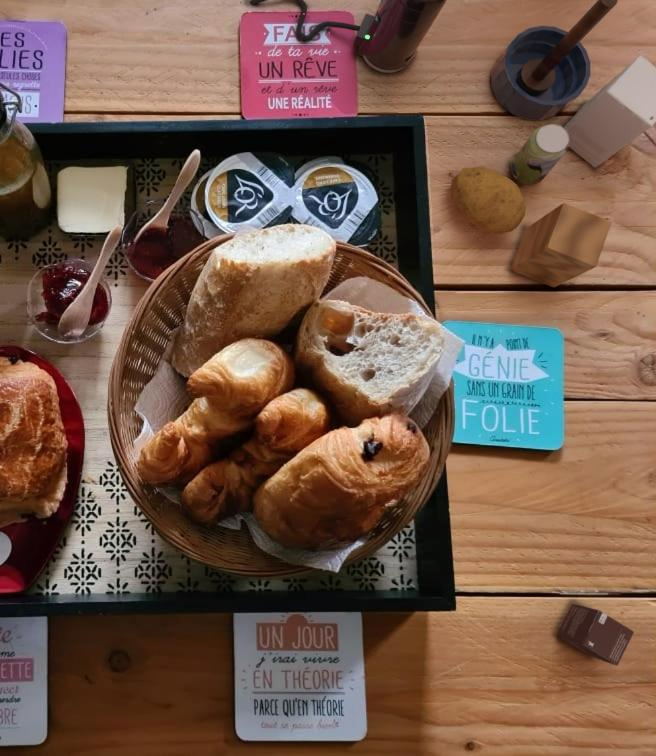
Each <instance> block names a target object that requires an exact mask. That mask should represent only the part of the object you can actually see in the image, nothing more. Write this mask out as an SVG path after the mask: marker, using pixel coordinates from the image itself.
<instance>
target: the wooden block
mask: <svg viewBox="0 0 656 756" xmlns="http://www.w3.org/2000/svg"><path fill="white" fill-rule="evenodd" d="M611 226H612V221H611V220H609V219H606V218H604V217H600V216H598V215H596V214H593V213H591V212H589V211H585V210H583V209H581V208H578V207H575V206H573V205H570V204H567V203H565V202H563V203H561V204H560V205H558V206H557V207H555V208H554V209H553V210H551V211H550V212H548V213H546V214H544V215H543V216H542V217H540V218H539V219H538V220H537V221H534V222H533V223H532V224H530V225H528V226H527V227H526V228H524V230H523V233H522V236H521V239H520V242H519V244H518V247H517V250H516V252H515V255H514V258H513V260H512V263H511V266H510V269H509V270H510V271H512V272H513V273H514V272H515V273H517V274H519V275H522V276H525V277H527V278H530V279H531V280H534V281H537V282H539V283H542V284H543V285H547V286H549V287H552V288H556V287H558V286H560V285H562V284H564V283H566V282H568V281H570V280H573V279H574V278H577V277H579V276H581V275H582V274H584V273H587V272H589V271H591V270H593V269H595V268H597V266H598V263H599V261H600V260H599V259H600V257H601V254H602V252H603V248H604V245H605V243H606V239H607V237H608V234H609V231H610V229H611Z"/></svg>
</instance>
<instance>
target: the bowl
mask: <svg viewBox="0 0 656 756" xmlns="http://www.w3.org/2000/svg"><path fill="white" fill-rule="evenodd" d="M568 32H569V31H567V30H565V29H562V28H559V27H557V26H551V25H538V26H533V27H529V28H527V29H525V30H524V31H522V32H520V33H518V34H517V35H516V36H515V37H514V38H513V39H512V40H511V42H510V43H508V46H506V48H505V49H504V50H503V52H502V53H501V54H500V55H499V56H498V58H497V59H496V60H495V62H494V64H493V67H492V70H491V76H490V77H491V79H490V85H491V88H492V92H493V94H494V96H495V98H496V100H497V101H498V102H499V104H500V105H501V107H503V108H504V109H505V110H506V111H507V112H509V113H510V114H512V115H513V116H516V117H519V118H521V119H523V120H530V121H542V120H547V119H551V118H553V117H554V116H556V115H558V114H560V113H561V112H562V111H564V110H565V109H566V108H567V107H568V106H569V105H570V104H572V103H573V102H574V101H575V100H576V99H577V98H578V97H579V96H580V95H581V94H582V92H583V91H584V90H585V89H586V88H587V86H588V83H589V80H590V77H591V60H590V57H589V54H588V51H587V49H586V48H585V47H584V45H583V43H581V41H580V42H579V43H578V44H577V45H576V46H575V47H574V48H573V49H572V50H571V51H570V52H569V53H568V54H567V56H566V57H565V58H564V59H563V60H562V61H561V62H560V63H559V64H558V65H557V66H556V67H555V68H554V70H555V75H556V76H555V81H554V83H553V85H552V86H551V87H550V88H549V89H548V90H547V91H546V92H545V93H543V94H541V95H539V96H530V95H528V94H527V93H526V92H525V91H523V90H522V89H521V88H520V87H519V86H518V84H517V83H516V75H517V73H518V71H519V70H520V69H521V68H522V67H523V65H524V64H525V63H526V62H528V61H529V60H532V59H544V58H545V57H546V56H547V55H548V54H549V52H550V51H551V50H552V49H553V48H554V47H555V46H556V45H557V44H558V43H559V42H560V41H561V40H562V38H563V37H564V36H565V35H566V34H567V33H568Z"/></svg>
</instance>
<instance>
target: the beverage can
mask: <svg viewBox="0 0 656 756" xmlns="http://www.w3.org/2000/svg"><path fill="white" fill-rule="evenodd" d="M569 148H570V147H569V135H568V133H567V131H566V130H565V129H564V127H563V126H561V125H560V124H555V123H550V124H549V123H548V124H546V125H542V126H539V127H538V128H536V129H535V130H534V131H533V132H532V134H531V135H530V136H529V137H528V139H527V140H526V141H525V143H524V144H523V146H522V147H521V149H520V150H519V151H518V153H516V156H515V157H514V159H513V160H512V161H511V165H510V172H511V175H512V177H513V178H514V179H515V180H516V181H517V182H519V183H521V184H523V185H530V186H531V185H535V184H539V183H540V182H541V181H543V180H544V179H545V178H546V177H547V176H548V175H549V173H550V172H551V171H552V169H553V168H555V166H556V165H557V164H558V163H559V161H560V160H562V158H563V156H564V155H565V154H566V153H567V152H568V150H569Z"/></svg>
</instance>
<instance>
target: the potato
mask: <svg viewBox="0 0 656 756" xmlns="http://www.w3.org/2000/svg"><path fill="white" fill-rule="evenodd" d="M450 183H451V184H450V196H451V198H452V200H453V202H454V204H455V205H456V207H457V209H458V210H459V211H460V212H461V214H462V215H463V216H464V218H465V219H466V220H467V221H469V222H470V223H471V224H472V225H474V226H475V227H476V228H477V229H479V230H481V231H482V232H484V233H486V234H492V235H500V234H501V235H502V234H506V233H510V232H512V231H514V230H516V229H517V228H518V227H519V226H520V225H521V223H522V221H523V220H524V218H525V215H526V210H527V206H526V203H525V199H524V197H523V195H522V191H521V190H520V188H519V186H518V184H516V183H515V182H514V181H513V180H512V179H511V178H509V177H507V176H506V175H504V174H503V173H500V172H498V171H496V170H494V169H492V168H489V167H485V166H483V165H482V166H474V167H463V168H462V169H461V170H460V171H459V172H458V173H457V174H456V175H455V176H454V177H453V179H451V182H450Z"/></svg>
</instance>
